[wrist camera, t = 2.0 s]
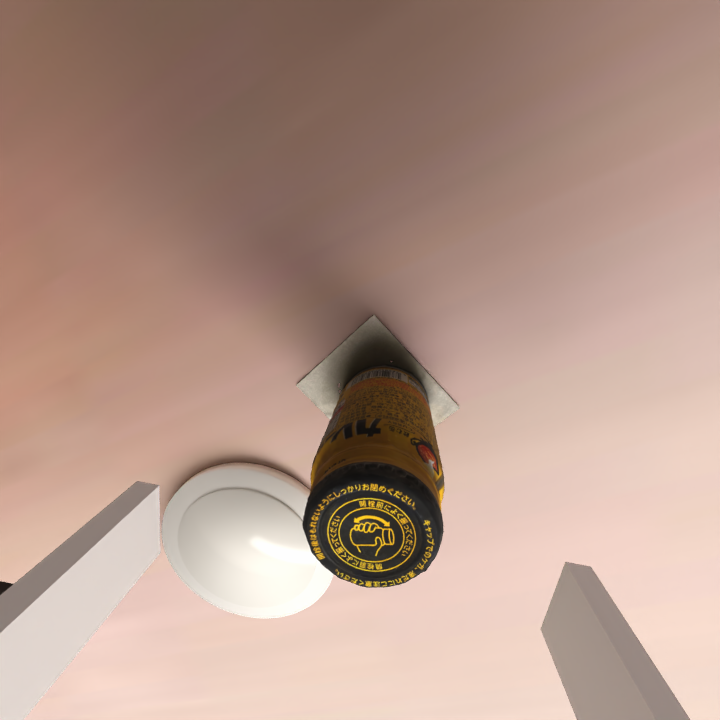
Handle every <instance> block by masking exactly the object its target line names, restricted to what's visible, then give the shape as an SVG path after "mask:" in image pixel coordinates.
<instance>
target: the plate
mask: <svg viewBox="0 0 720 720" xmlns="http://www.w3.org/2000/svg"><path fill="white" fill-rule="evenodd" d="M309 495H310V490H309V489H308V488H307V487H306V486H304V485H303V484H302V483H300V482H299V481H297V480H296V479H294V478H293V477H291V476H289V475H287V474H285V473H283V472H281V471H279V470H276V469H273V468H270V467H267V466H263V465H259V464H252V463H226V464H220V465H216V466H212V467H210V468H207V469H205V470H202V471H201V472H199V473H197V474H196V475H194V476H193V477H191V478H190V479H189V480H188V481H187V482H186V483H185V484H184V485H183V486H182V487H181V488H180V489H179V490H178V491H177V492H176V493H175V495H174V496H173V497H172V498H171V500H170V502H169V503H168V505H167V507H166V510H165V512H164V516H163V520H162V542H163V546H164V550H165V553H166V555H167V558H168V560H169V562H170V564H171V566H172V568H173V569H174V571H175V572H176V574H177V575H178V576H179V578H180V579H181V580H182V581H183V582H184V583H185V584H186V586H188V587H189V588H190V589H191V590H192V591H193V592H194V593H195V594H197V595H198V596H199V597H201V598H202V599H204V600H205V601H207V602H209V603H210V604H212V605H214V606H216V607H218V608H220V609H222V610H225V611H228V612H230V613H233V614H237V615H241V616H246V617H252V618H277V617H284V616H288V615H291V614H295V613H297V612H299V611H302V610H304V609H305V608H307V607H309V606H310V605H312V604H313V603H314V602H315V601H317V600H318V599H319V598H320V597H321V596H322V595H323V593H324V592H325V591H326V589H327V588H328V586H329V585H330V582H331V580H332V578H333V575H334V574H333V573H331V572H330V571H329V570H328V569H326V568H325V567H324V566H323V565H322V564H321V563H320V562H319V561H318V560H317V558H316V557H315V556H314V555H313V554H312V552H311V550H310V546H309V544H308V542H307V538H306V535H305V533H304V530H303V525H302V523H303V516H304V512H305V508H306V503H307V499H308V497H309Z"/></svg>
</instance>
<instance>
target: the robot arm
mask: <svg viewBox="0 0 720 720" xmlns="http://www.w3.org/2000/svg"><path fill="white" fill-rule="evenodd" d="M159 554H160V495H159V485H155V484H150V483H145V482H139V481H137V482H136V483H134V484H133V485H132V486H131V487H130V488H128V489H127V490H126V491H125V492H124V493H122V494H121V495H120V496H119V497H118V498H116V499H115V500H114V501H113V502H112V503H110V504H109V505H108V506H107V507H106V508H104V509H103V510H102V511H101V512H100V513H98V514H97V515H96V516H95V517H94V518H92V519H91V520H90V521H89V522H88V523H86V524H85V525H84V526H83V527H82V528H80V529H79V530H78V531H77V532H76V533H74V534H73V535H72V536H71V537H70V538H68V539H67V540H66V541H65V542H64V543H62V544H61V545H60V546H59V547H58V548H56V549H55V550H54V551H53V552H52V553H50V554H49V555H48V556H47V557H46V558H44V559H43V560H42V561H41V562H40V563H38V564H37V565H36V566H35V567H34V568H32V569H31V570H30V571H29V572H28V573H26V574H25V575H24V576H23V577H22V578H20V579H19V580H18V581H17V582H16V583H14V584H11V583H6V582H1V581H0V720H24V719H25V718H26V716H27V715H28V714H29V713H30V711H31V710H32V709H33V708H34V707H35V705H36V704H37V703H38V702H39V700H40V699H41V698H42V697H43V696H44V694H45V693H46V692H47V691H48V689H49V688H50V687H51V686H52V685H53V683H54V682H55V681H56V680H57V678H58V677H59V676H60V675H61V674H62V672H63V671H64V670H65V669H66V667H67V666H68V665H69V664H70V663H71V661H72V660H73V659H74V658H75V657H76V655H77V654H78V653H79V652H80V650H81V649H82V648H83V647H84V646H85V644H86V643H87V642H88V641H89V639H90V638H91V637H92V636H93V635H94V633H95V632H96V631H97V630H98V628H99V627H100V626H101V625H102V624H103V622H104V621H105V620H106V619H107V617H108V616H109V615H110V614H111V613H112V611H113V610H114V609H115V608H116V606H117V605H118V604H119V603H120V602H121V600H122V599H123V598H124V597H125V595H126V594H127V593H128V592H129V591H130V589H131V588H132V587H133V586H134V584H135V583H136V582H137V581H138V580H139V578H140V577H141V576H142V575H143V573H144V572H145V571H146V570H147V569H148V567H149V566H150V565H151V564H152V562H153V561H154V560H155V559H156V558H157V556H158V555H159ZM541 631H542V633H543V636H544V638H545V641H546V643H547V646H548V648H549V651H550V653H551V656H552V658H553V661H554V663H555V666H556V668H557V671H558V673H559V676H560V678H561V681H562V683H563V686H564V688H565V691H566V693H567V696H568V698H569V701H570V703H571V706H572V708H573V711H574V713H575V716H576V718H577V720H690V718H689V717H688V715H687V714H686V712H685V711H684V709H683V708H682V706H681V705H680V703H679V702H678V700H677V698H676V697H675V695H674V694H673V692H672V691H671V689H670V688H669V686H668V685H667V683H666V682H665V680H664V678H663V677H662V675H661V674H660V672H659V671H658V669H657V668H656V666H655V665H654V663H653V662H652V660H651V658H650V657H649V655H648V654H647V652H646V651H645V649H644V648H643V646H642V645H641V643H640V642H639V640H638V638H637V637H636V635H635V634H634V632H633V631H632V629H631V628H630V626H629V625H628V623H627V622H626V620H625V618H624V617H623V615H622V614H621V612H620V611H619V609H618V608H617V606H616V605H615V603H614V602H613V600H612V598H611V597H610V595H609V594H608V592H607V591H606V589H605V588H604V586H603V585H602V583H601V582H600V580H599V578H598V577H597V575H596V574H595V572H594V571H593V569H592V568H591V567H590V566H584V565H579V564H574V563H569V562H565V565H564V567H563V570H562V573H561V575H560V578H559V581H558V584H557V586H556V589H555V592H554V594H553V597H552V600H551V602H550V605H549V608H548V611H547V613H546V616H545V619H544V621H543V624H542V627H541Z"/></svg>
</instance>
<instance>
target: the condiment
mask: <svg viewBox="0 0 720 720" xmlns="http://www.w3.org/2000/svg"><path fill="white" fill-rule="evenodd" d="M391 360H392V361H393V362H392V363H391V362H390V361H391ZM339 383H340V388H338V384H339ZM296 386H297V387H298V388H299V389H300V390H301V391H302V392H303V393H304V394H305V395H306V396H307V397H308V398H309V399H310V400H311V401H312V402H313V403H314V404H315V405H316V406H317V407H318V408H319V409H320V410H321V411H322V412H323V413H324V414H325V415H326V416H327V417H328V418H329V419H330V421H329V425H328V427H327V429H326V432H325V435H324V436H323V438H322V441H321V443H320V446H319V448H318V451H317V454H316V456H315V458H314V461H313V465H312V471H311V490H310V495H309V497H308V499H307V503H306V508H305V512H304V516H303V523H302V525H303V530H304V533H305V535H306V538H307V542H308V544H309V546H310V550H311V552H312V554H313V555H314V556H315V557H316V558H317V560H318V561H319V562H320V563H321V564H322V565H323V566H324V567H325V568H326V569H328V570H329V571H330V572H331V573H333V574H334V575H336V576H337V577H338V578H340V579H343V580H346V581H349V582H351V583H354V584H356V585H359V586H363V587H390V586H395V585H400V584H402V583H405V582H407V581H409V580H411V579H412V578H414V577H416V576H417V575H419V574H420V573H422V572H424V571H426V570H427V568H428V567H429V566H430V564H431V562H432V561H433V560H434V559H435V557H436V555H437V553H438V550H439V547H440V544H441V541H442V536H443V532H444V531H443V520H442V513H441V502H442V499H443V493H444V476H443V470H442V464H441V460H440V455H439V449H438V445H437V440H436V435H435V429H434V427H435V426H436V425H438V424H439V423H440V422H442V421H443V420H445V419H446V418H447V417H449V416H450V415H451V414H453V413H454V412H455V411H457V410H458V409H459V407H458V405H457V404H456V403H455V402H454V401H453V400H452V399H451V398H450V397H449V396H448V394H447V393H446V392H445V391H444V390H443V389H442V388H441V387H440V386H439V385H438V384H437V383H436V381H435V380H434V379H433V378H432V377H431V376H430V375H429V374H428V373H427V372H426V371H425V369H424V368H423V367H422V366H421V365H420V364H419V363H418V362H417V361H416V360H415V359H414V358H413V357H412V356H411V355H410V353H409V352H408V351H407V350H406V349H405V348H404V347H403V346H402V345H401V343H400V342H399V341H398V340H397V339H396V338H395V337H394V336H393V335H392V334H391V333H390V332H389V331H388V330H387V329H386V328H385V326H384V325H383V324H382V323H381V322H380V321H379V320H378V319H377V318H376V317H375V315H373V316H372V317H370V318H369V319H368V320H367V321H366V322H365V323H364V324H363V325H362V326H360V327H359V328H358V329H357V330H356V331H355V332H354V333H353V334H352V335H351V336H350V337H349V338H347V339H346V340H345V341H344V342H343V343H342V344H341V345H340V346H339V347H337V348H336V349H335V350H334V351H333V352H332V353H331V354H330V355H329V356H328V357H326V358H325V359H324V360H323V361H322V362H321V363H320V364H319V365H318V366H317V367H316V368H315V369H313V370H312V371H311V372H310V373H309V374H308V375H307V376H306V377H305V378H304V379H303V380H301V381H300V382H299V383H298V384H297V385H296ZM339 390H341V393H339Z"/></svg>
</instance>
